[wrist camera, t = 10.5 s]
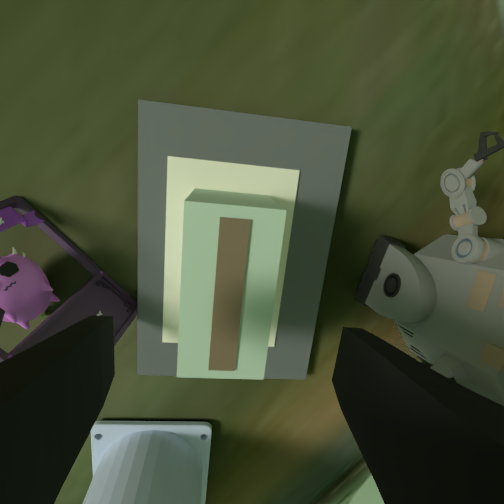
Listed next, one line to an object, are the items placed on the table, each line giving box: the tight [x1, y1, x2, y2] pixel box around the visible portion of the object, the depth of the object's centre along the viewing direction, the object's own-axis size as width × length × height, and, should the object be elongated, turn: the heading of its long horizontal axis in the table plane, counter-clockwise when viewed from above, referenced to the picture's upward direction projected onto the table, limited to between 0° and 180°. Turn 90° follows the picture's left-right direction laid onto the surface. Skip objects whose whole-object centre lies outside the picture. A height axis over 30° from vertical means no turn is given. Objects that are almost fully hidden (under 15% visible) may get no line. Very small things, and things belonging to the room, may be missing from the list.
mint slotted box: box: [177, 188, 287, 379], centre depth 16 cm, size 4×8×5 cm, turn 174°
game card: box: [0, 196, 138, 362], centre depth 16 cm, size 7×5×9 cm
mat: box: [137, 100, 352, 379], centre depth 18 cm, size 16×11×1 cm
